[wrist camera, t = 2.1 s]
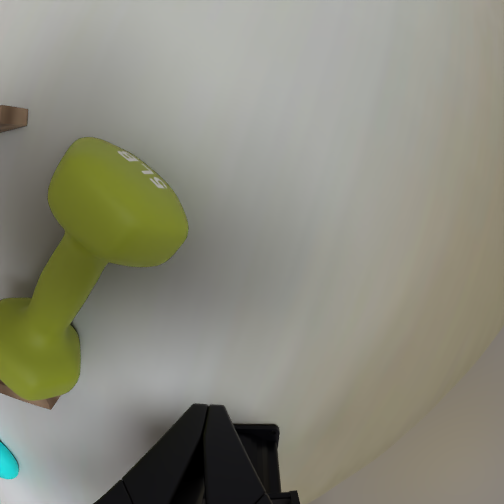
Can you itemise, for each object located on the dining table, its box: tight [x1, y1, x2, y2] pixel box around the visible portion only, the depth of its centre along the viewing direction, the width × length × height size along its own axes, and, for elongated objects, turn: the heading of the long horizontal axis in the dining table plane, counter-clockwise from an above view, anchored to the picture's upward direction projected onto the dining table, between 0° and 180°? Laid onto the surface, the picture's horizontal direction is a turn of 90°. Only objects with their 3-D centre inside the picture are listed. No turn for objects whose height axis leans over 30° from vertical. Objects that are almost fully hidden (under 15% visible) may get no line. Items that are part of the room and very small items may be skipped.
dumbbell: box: [0, 137, 188, 401], centre depth 16 cm, size 16×8×7 cm, turn 138°
